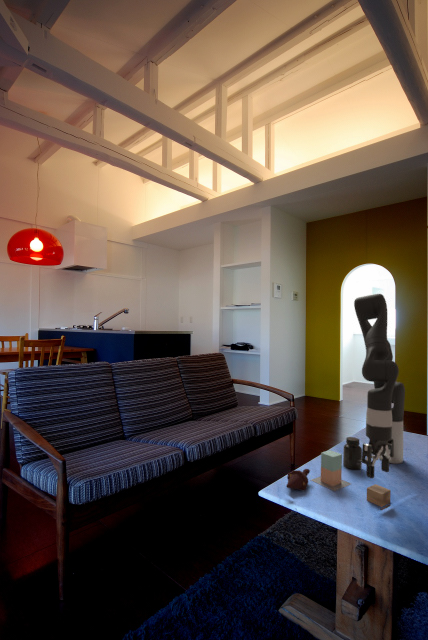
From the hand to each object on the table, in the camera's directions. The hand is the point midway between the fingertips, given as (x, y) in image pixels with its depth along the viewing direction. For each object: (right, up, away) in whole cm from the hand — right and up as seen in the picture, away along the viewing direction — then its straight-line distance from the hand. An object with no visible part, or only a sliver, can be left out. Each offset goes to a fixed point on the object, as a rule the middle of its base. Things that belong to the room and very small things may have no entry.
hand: (377, 474), depth 112 cm
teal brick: (-10, -4, +13) cm, 17 cm away
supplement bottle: (+3, -10, +27) cm, 29 cm away
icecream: (-23, -9, +8) cm, 27 cm away
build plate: (-11, -10, +13) cm, 19 cm away
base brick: (-11, -9, +13) cm, 19 cm away
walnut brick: (0, -10, 0) cm, 10 cm away
